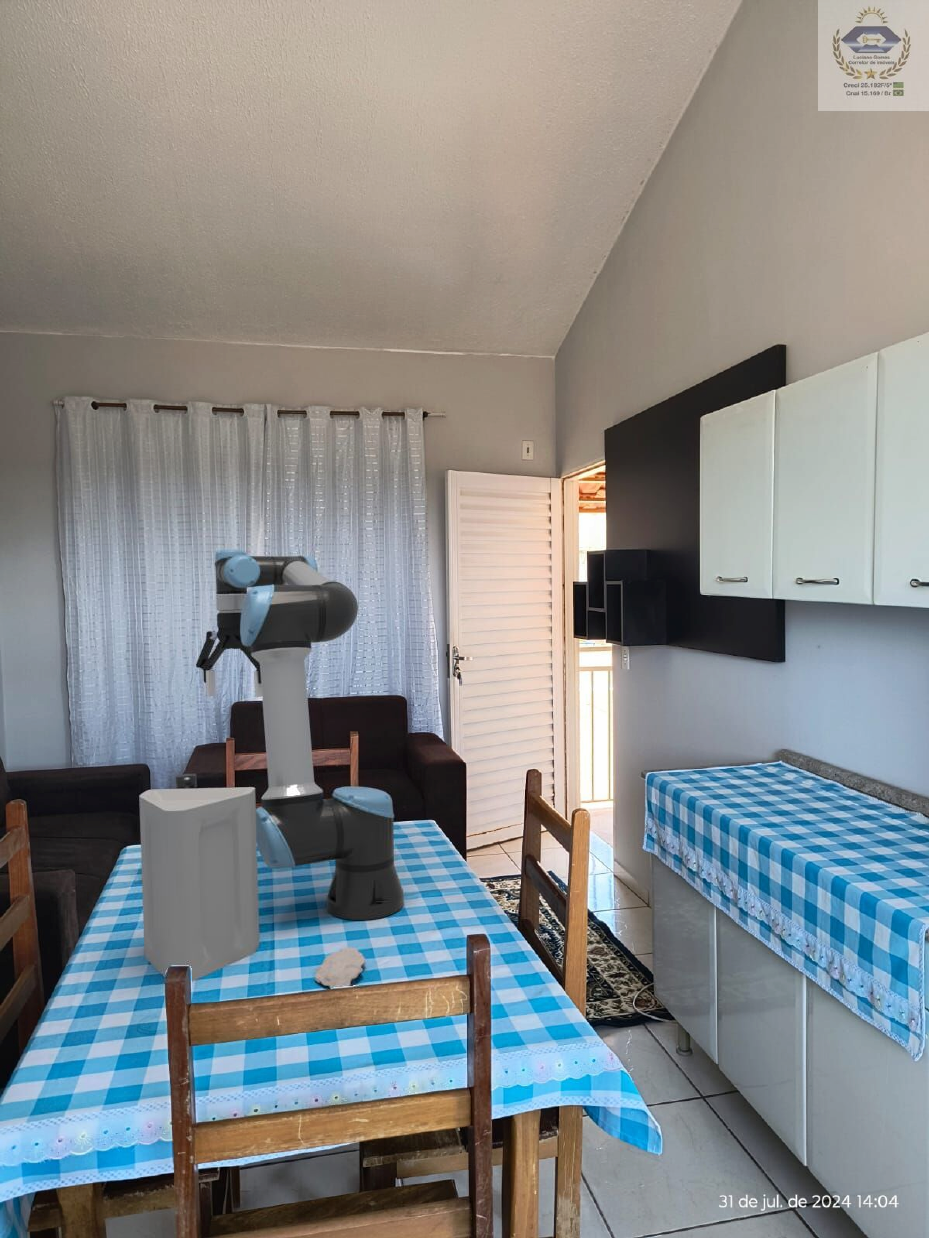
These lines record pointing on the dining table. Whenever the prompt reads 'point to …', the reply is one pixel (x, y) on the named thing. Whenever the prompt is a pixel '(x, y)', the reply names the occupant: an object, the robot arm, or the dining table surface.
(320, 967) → the stone tool
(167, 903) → the grey triangular prism
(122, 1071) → the dining table surface
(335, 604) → the robot arm
